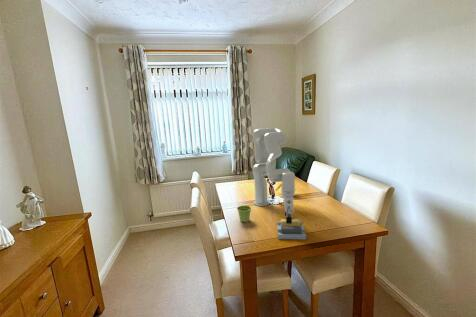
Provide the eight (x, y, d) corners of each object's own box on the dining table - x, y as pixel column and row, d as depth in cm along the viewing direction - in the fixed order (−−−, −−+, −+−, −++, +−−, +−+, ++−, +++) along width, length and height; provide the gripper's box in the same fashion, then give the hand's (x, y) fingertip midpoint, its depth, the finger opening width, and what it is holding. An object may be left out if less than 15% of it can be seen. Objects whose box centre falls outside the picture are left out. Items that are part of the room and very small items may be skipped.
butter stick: (299, 225, 140) (299, 219, 139) (300, 228, 136) (300, 221, 135) (280, 225, 141) (280, 219, 140) (281, 227, 138) (281, 221, 137)
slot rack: (277, 225, 143) (277, 221, 143) (302, 225, 141) (302, 221, 141) (278, 238, 128) (278, 234, 127) (306, 239, 126) (306, 235, 125)
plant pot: (243, 216, 159) (242, 204, 157) (254, 219, 153) (254, 207, 152) (234, 221, 152) (234, 208, 150) (246, 224, 146) (245, 212, 144)
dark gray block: (300, 232, 131) (300, 226, 130) (301, 235, 127) (301, 229, 127) (281, 232, 132) (280, 226, 132) (281, 235, 129) (281, 229, 128)
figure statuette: (295, 192, 200) (295, 167, 196) (297, 195, 193) (296, 170, 189) (274, 193, 201) (274, 168, 197) (275, 196, 194) (275, 170, 190)
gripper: (296, 198, 127) (296, 226, 130) (293, 187, 143) (293, 213, 147) (282, 197, 128) (282, 226, 131) (280, 187, 144) (281, 213, 148)
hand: (288, 219), depth 139 cm, fingers open, 9 cm apart
